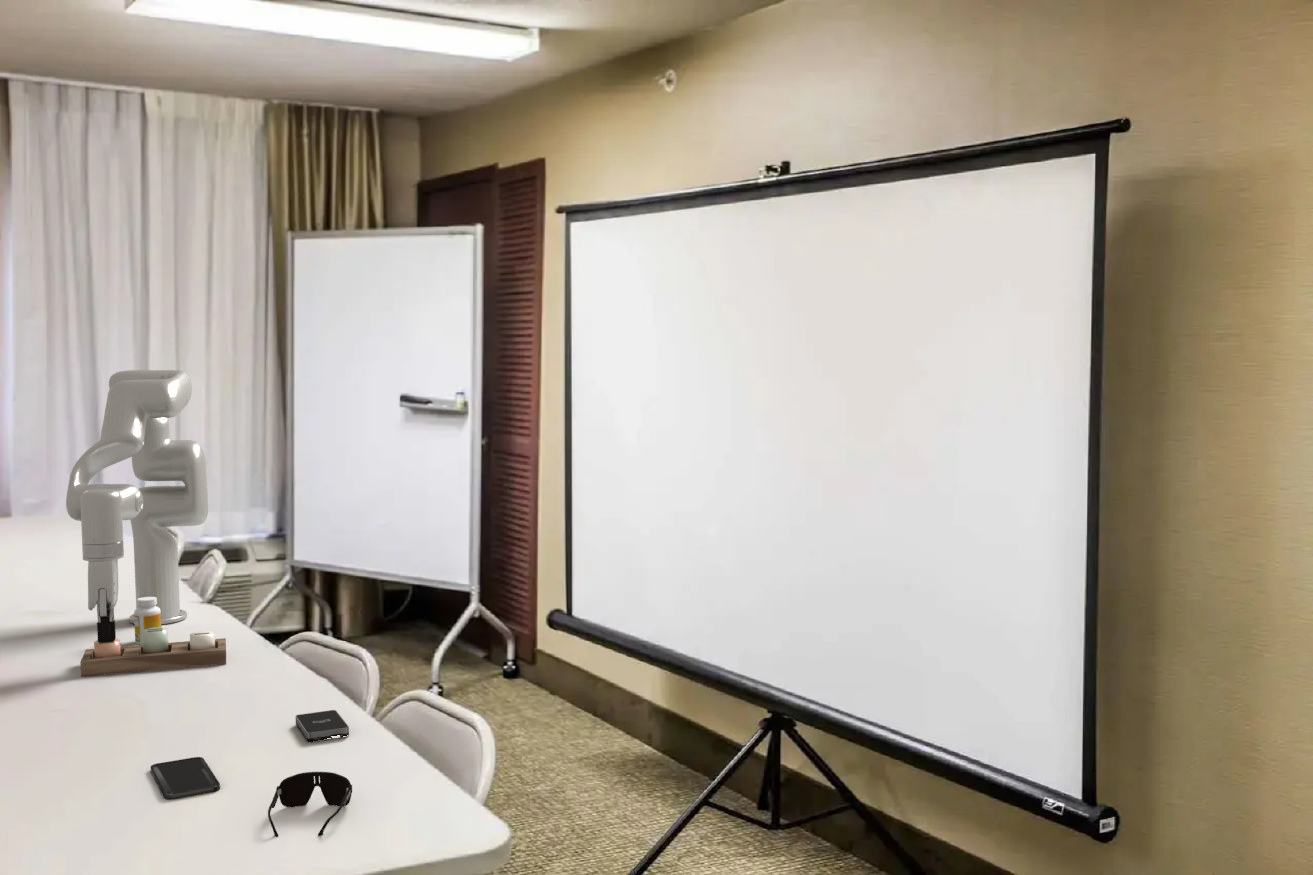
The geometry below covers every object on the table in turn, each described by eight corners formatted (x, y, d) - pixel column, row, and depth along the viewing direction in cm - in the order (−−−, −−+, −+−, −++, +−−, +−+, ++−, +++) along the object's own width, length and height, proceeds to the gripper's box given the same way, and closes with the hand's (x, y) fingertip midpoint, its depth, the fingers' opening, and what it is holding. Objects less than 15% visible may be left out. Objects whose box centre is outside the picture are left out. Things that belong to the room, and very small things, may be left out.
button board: (86, 663, 251) (85, 649, 251) (226, 652, 260) (225, 638, 260) (81, 676, 242) (80, 661, 242) (226, 664, 251) (225, 649, 251)
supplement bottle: (166, 639, 272) (164, 596, 271) (154, 645, 266) (152, 601, 265) (143, 638, 272) (141, 595, 271) (130, 645, 267) (128, 600, 266)
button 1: (190, 651, 256) (190, 631, 255) (215, 649, 257) (214, 629, 257) (190, 656, 251) (189, 637, 251) (215, 654, 253) (214, 635, 252)
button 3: (96, 658, 250) (95, 639, 249) (121, 656, 251) (120, 637, 251) (93, 664, 245) (92, 644, 245) (119, 662, 247) (119, 642, 246)
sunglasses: (355, 802, 177) (354, 770, 176) (338, 847, 165) (336, 813, 164) (281, 804, 177) (279, 772, 176) (258, 849, 165) (256, 815, 164)
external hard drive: (307, 745, 202) (307, 733, 202) (295, 726, 212) (294, 715, 212) (349, 739, 205) (349, 727, 205) (335, 720, 215) (335, 709, 215)
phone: (165, 796, 177) (149, 764, 190) (165, 803, 178) (149, 771, 190) (222, 785, 181) (202, 755, 194) (222, 793, 182) (203, 762, 194)
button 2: (143, 647, 252) (142, 628, 252) (168, 645, 254) (168, 626, 254) (142, 653, 248) (141, 633, 248) (167, 651, 249) (167, 631, 249)
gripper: (86, 546, 252) (90, 634, 253) (78, 558, 238) (82, 651, 239) (126, 544, 254) (129, 631, 256) (120, 555, 240) (124, 648, 242)
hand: (106, 640), depth 248 cm, fingers closed
